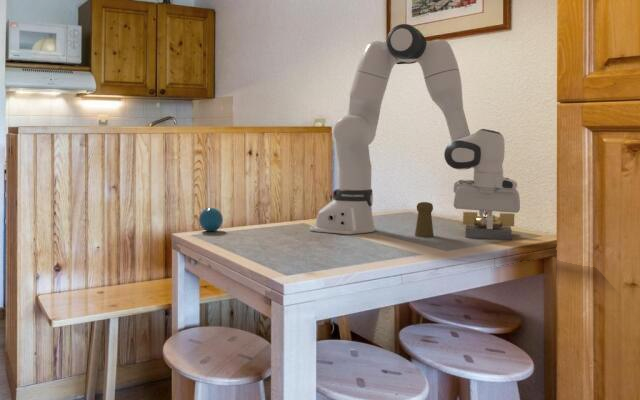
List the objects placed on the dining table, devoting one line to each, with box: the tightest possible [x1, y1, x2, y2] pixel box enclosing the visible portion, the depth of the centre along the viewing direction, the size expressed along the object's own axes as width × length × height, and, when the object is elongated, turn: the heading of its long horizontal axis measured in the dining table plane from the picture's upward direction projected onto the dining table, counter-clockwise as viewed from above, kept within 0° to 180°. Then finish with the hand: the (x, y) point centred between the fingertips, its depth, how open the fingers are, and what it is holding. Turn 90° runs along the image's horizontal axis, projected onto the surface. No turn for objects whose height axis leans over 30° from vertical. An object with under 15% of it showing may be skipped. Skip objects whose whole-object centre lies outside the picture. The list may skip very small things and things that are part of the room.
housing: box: [464, 225, 513, 241], centre depth 189 cm, size 14×13×3 cm
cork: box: [414, 201, 434, 238], centre depth 187 cm, size 6×6×11 cm
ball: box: [198, 207, 224, 233], centre depth 194 cm, size 8×8×8 cm
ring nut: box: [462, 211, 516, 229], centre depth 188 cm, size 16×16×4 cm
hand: (485, 224), depth 183 cm, fingers closed, pressing on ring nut
